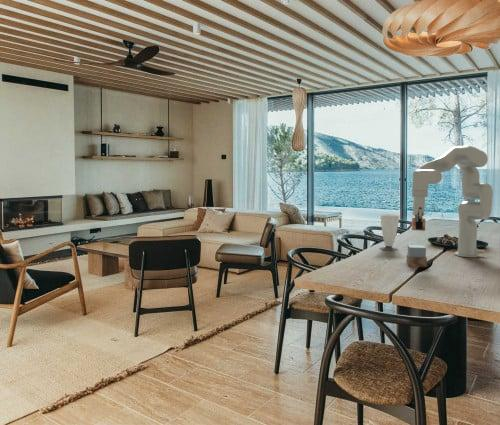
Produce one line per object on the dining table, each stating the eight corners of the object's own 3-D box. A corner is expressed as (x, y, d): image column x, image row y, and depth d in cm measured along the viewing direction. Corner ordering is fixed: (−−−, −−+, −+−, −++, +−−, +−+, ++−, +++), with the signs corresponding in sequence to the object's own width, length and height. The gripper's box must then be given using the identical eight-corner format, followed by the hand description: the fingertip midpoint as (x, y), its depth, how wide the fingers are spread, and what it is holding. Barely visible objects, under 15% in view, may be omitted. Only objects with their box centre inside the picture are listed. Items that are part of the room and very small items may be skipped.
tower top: (423, 254, 240) (423, 245, 240) (425, 257, 233) (426, 248, 232) (407, 253, 242) (407, 244, 242) (409, 256, 234) (409, 247, 234)
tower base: (424, 263, 241) (424, 254, 240) (426, 267, 232) (426, 257, 232) (406, 262, 243) (406, 253, 243) (408, 266, 234) (408, 257, 234)
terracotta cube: (423, 229, 238) (424, 217, 237) (425, 230, 232) (425, 219, 231) (411, 228, 239) (412, 217, 239) (412, 230, 233) (413, 218, 233)
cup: (375, 248, 286) (376, 214, 283) (391, 247, 289) (392, 213, 287) (386, 251, 275) (387, 216, 273) (402, 250, 278) (403, 215, 276)
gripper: (410, 192, 243) (409, 226, 245) (413, 194, 226) (412, 230, 228) (425, 193, 241) (423, 226, 243) (429, 195, 224) (428, 230, 226)
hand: (418, 228), depth 235 cm, fingers closed on terracotta cube, 6 cm apart
